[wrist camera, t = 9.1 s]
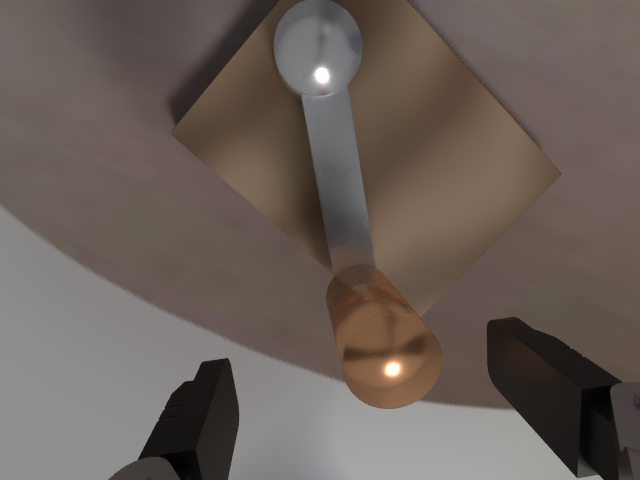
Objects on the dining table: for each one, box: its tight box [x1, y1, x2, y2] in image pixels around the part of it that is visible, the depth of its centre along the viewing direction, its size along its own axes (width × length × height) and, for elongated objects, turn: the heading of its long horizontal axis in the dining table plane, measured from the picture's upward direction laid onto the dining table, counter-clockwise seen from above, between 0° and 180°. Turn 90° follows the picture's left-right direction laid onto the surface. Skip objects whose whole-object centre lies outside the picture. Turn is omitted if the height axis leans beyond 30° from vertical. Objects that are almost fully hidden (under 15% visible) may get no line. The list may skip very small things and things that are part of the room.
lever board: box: [170, 0, 562, 317], centre depth 19 cm, size 16×12×2 cm
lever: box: [274, 0, 442, 409], centre depth 14 cm, size 14×4×8 cm, turn 10°
